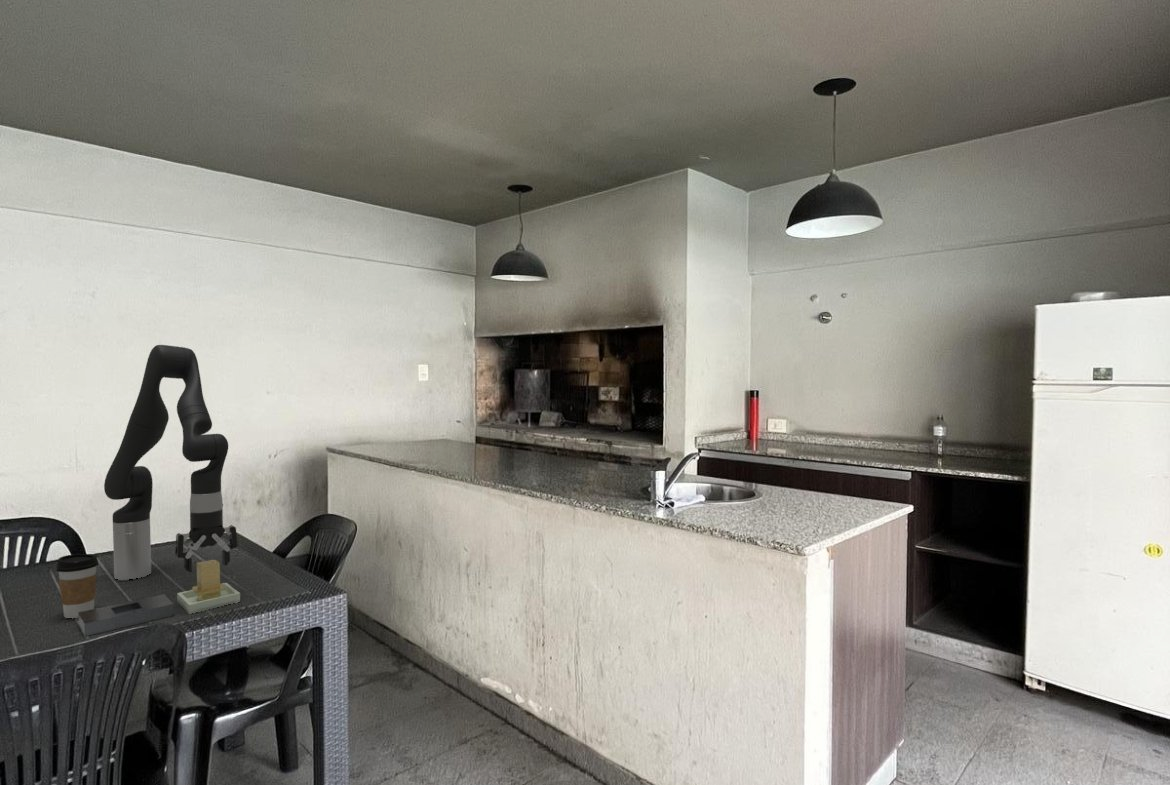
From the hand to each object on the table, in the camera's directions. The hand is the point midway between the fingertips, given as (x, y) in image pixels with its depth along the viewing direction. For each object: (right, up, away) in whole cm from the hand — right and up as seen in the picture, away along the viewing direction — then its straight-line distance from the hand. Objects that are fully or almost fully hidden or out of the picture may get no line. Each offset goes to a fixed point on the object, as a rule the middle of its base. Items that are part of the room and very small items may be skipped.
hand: (207, 568), depth 171 cm
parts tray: (0, -9, 0) cm, 9 cm away
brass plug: (0, -9, 0) cm, 9 cm away
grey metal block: (-13, -10, -12) cm, 20 cm away
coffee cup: (-28, -10, -8) cm, 31 cm away
